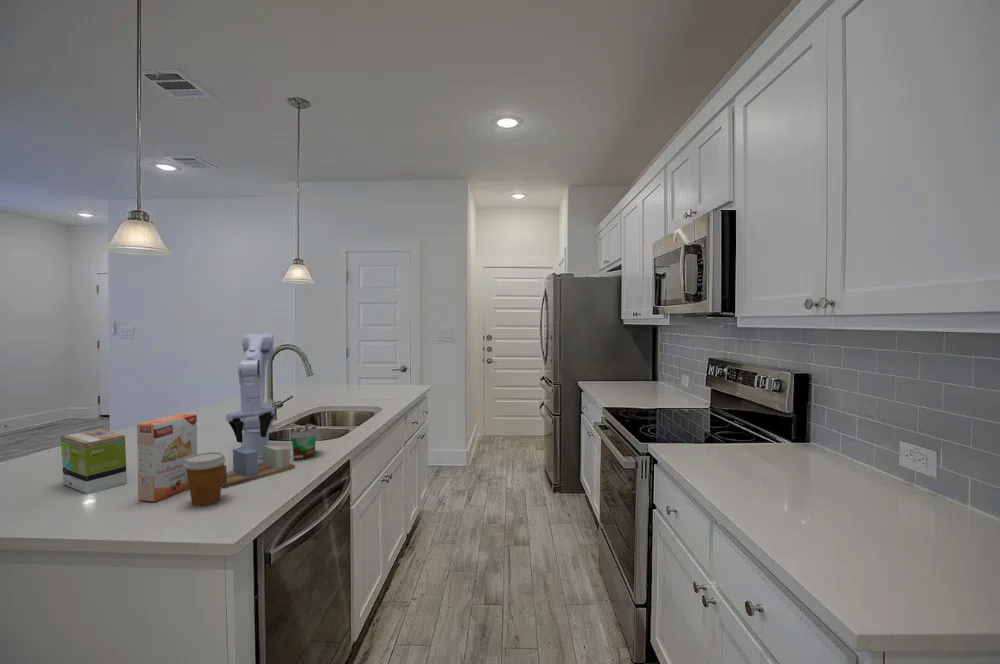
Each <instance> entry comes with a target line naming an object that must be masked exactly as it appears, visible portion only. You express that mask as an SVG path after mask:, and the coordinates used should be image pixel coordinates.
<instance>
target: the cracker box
mask: <svg viewBox="0 0 1000 664" xmlns="http://www.w3.org/2000/svg"><path fill="white" fill-rule="evenodd" d="M197 416H198V415H197V414H194V413H177V414H173V415H169V416H165V417H162V418H156V419H152V420H148V421H143V422H140V423H136V430H137V431H136V435H137V437H136V438H137V440H136V441H137V443H136V444H137V446H136V447H137V452H136V453H137V496H138V497H137V498H138V499H137V500H138V501H139V502H142V501H143V502H150V503H157V502H159V501H162V500H163V499H166V498H168V497H171V496H173V495H176V494H177V492H178V493H180V492H182V490H183V491H185V490H187V489H186V488H188V487H189V482H188V477H187V472H186V468H185V467H184V463H185V461H186V458H188V457H190V456H193V455H196V454H198V427H197V426H198V417H197ZM184 489H185V490H184ZM188 489H189V488H188ZM179 491H180V492H179ZM175 493H176V494H175ZM170 495H171V496H170ZM156 501H157V502H156Z"/></svg>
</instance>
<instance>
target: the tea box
mask: <svg viewBox="0 0 1000 664" xmlns="http://www.w3.org/2000/svg"><path fill="white" fill-rule="evenodd" d="M60 447H61V448H60V449H61V467H62V481H63V482H62V483H63V485H64V486H68V487H70V488H73V489H75V490H77V491H79V492H81V493H84V492H85V493H84V494H86V493H87V495H88V493H89V494H92V492H93V493H97V492H100V491H99V490H101V491H104V490H107V488H108V489H111V488H114V486H115V487H118V486H121V484H122V485H124V484H127V482H128V480H127V479H128V473H127V472H128V471H127V458H126V457H127V454H126V453H127V452H126V435H125V434H121V433H118V432H114V431H109V430H107V429H106V430H105V429H102V428H98V429H94V430H86V431H82V432H76V433H72V434H71V433H70V434H67V435H61V436H60ZM103 489H104V490H103ZM96 491H97V492H96Z"/></svg>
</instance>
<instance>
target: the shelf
mask: <svg viewBox="0 0 1000 664" xmlns="http://www.w3.org/2000/svg"><path fill="white" fill-rule="evenodd" d="M295 466H296V465H295V464H292V463H290V466H286V467H282V468H279V469H275V468H272V467H269V466H266V465H263V463H260V464H259V463H258V474H256V475H253V476H249V477H245V476H242V475H240V474H237V473H235V472H233V471H230V472H229V471H228V472H227V465H225V464H224V467H223V476H222V485H221V487H222V488H221V489H223V488H224V489H226V487H227V488H230V487H229V486H231V487H233V485H234V486H236V484H238V485H240V483H241V484H244V482H245V483H248V482H251V481H250V480H252V481H254V479H255V480H257V479H258V478H259V479H261V477H262V478H266V477H269V476H271V475H277V474H279V473H282V472H286V471H290V470H294V469H296V467H295ZM247 481H248V482H247Z"/></svg>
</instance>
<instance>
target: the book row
mask: <svg viewBox="0 0 1000 664" xmlns="http://www.w3.org/2000/svg"><path fill="white" fill-rule="evenodd" d="M262 464H263V465H266V466H269V467H272V468H275V469H279V468H282V467H286V466H290V464H291V448H289V447H286V446H282V445H278V444H273V445H272V444H269V445H265V446H263V457H262Z"/></svg>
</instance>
